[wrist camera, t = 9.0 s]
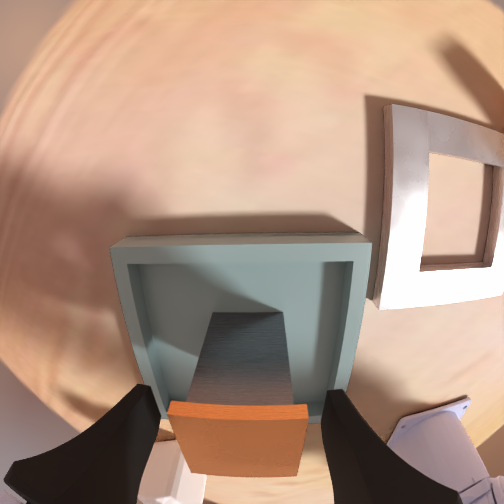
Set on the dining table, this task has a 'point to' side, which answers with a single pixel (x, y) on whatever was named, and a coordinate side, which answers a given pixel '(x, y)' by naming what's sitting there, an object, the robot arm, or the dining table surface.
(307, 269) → the tray
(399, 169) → the socket
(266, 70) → the dining table surface
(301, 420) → the pin
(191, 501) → the pepper shaker
